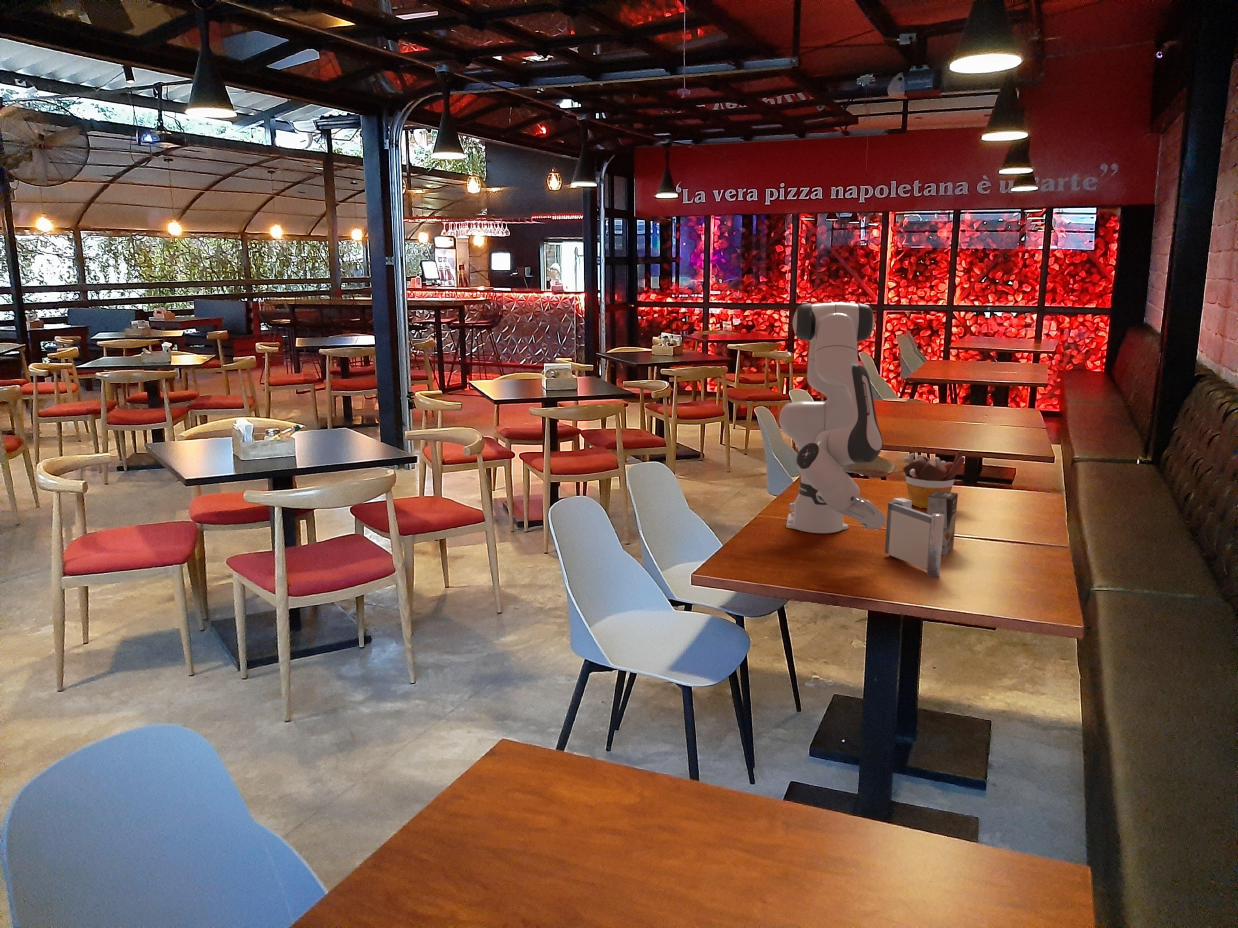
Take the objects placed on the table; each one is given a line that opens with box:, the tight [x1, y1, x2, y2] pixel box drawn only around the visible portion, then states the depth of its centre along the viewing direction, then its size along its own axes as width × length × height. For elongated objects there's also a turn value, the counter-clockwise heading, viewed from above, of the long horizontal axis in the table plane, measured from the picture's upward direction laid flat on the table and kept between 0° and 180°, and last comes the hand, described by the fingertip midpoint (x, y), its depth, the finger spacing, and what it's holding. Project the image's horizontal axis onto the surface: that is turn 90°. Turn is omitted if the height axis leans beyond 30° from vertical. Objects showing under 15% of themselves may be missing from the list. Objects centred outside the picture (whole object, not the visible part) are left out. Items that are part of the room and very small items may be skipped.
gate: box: [884, 501, 932, 571], centre depth 238 cm, size 17×2×14 cm, turn 21°
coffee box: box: [926, 491, 959, 556], centre depth 252 cm, size 9×6×16 cm
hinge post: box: [926, 513, 944, 578], centre depth 229 cm, size 3×3×16 cm
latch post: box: [888, 497, 913, 560], centre depth 245 cm, size 4×3×16 cm
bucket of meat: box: [902, 450, 966, 510], centre depth 304 cm, size 20×16×20 cm
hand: (870, 526), depth 237 cm, fingers closed
